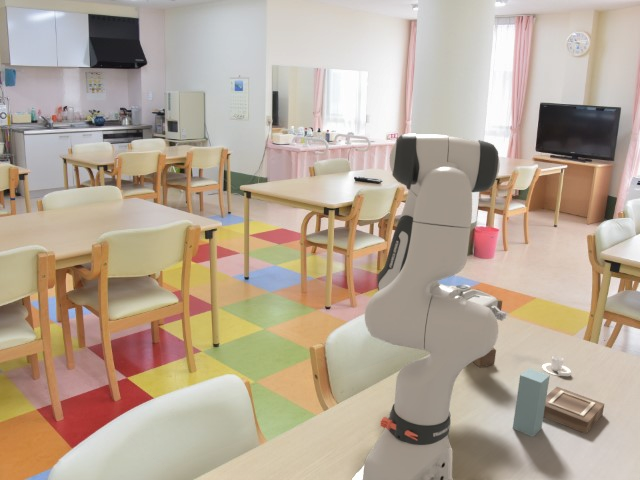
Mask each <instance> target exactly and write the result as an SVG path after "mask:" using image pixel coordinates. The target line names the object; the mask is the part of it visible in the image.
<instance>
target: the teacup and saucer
mask: <svg viewBox="0 0 640 480" xmlns="http://www.w3.org/2000/svg"><path fill="white" fill-rule="evenodd" d="M550 360H551V362H546V363H543V364H542V366H541V369H542V370H543V371H544V372H546V374H549V375H553V376H558V377H570V376H571V375H573V374H572V371H571V369H570V368H569V367H567V366H565V365H563V363H564V358H563V357H562V356H559V355H552V356H551V359H550ZM548 366H551V369H552V371H553V372H551V371H550V370H548V369H547V367H548ZM555 372H557V373H555Z"/></svg>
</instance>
